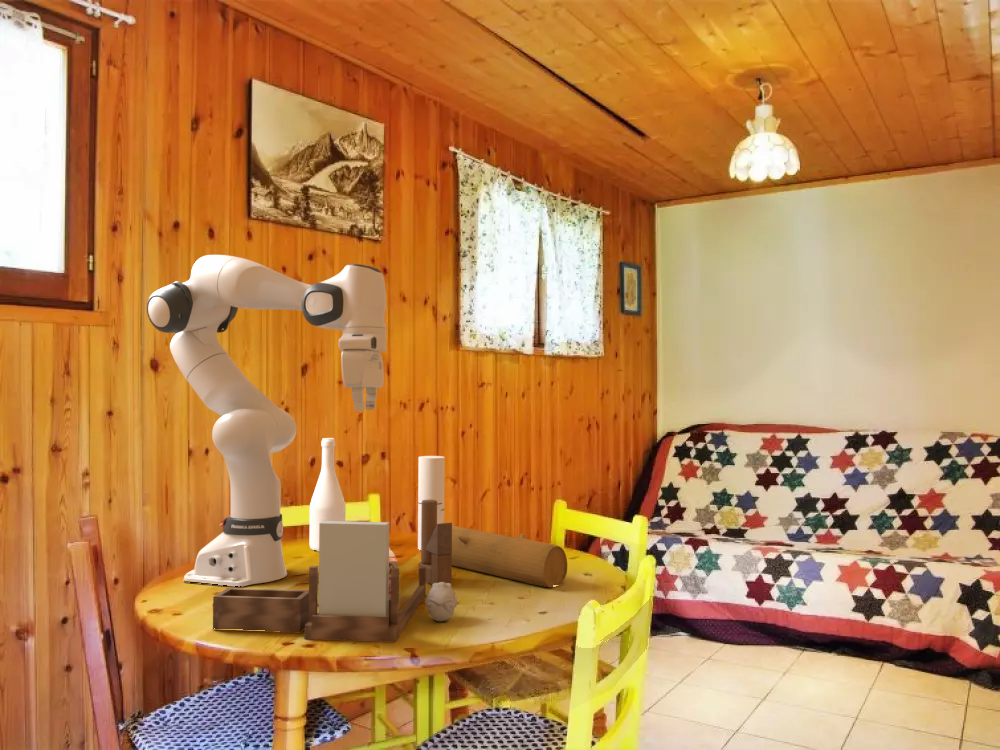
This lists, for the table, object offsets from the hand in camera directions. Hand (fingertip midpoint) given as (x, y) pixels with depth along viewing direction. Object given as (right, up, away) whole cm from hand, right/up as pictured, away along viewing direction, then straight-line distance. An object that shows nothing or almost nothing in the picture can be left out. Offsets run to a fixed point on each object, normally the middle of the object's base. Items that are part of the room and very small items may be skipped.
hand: (365, 410), depth 157 cm
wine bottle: (-19, -40, +51) cm, 68 cm away
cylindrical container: (+9, -40, +52) cm, 66 cm away
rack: (+3, -39, -10) cm, 40 cm away
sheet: (+2, -39, -21) cm, 44 cm away
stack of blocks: (+3, -40, -6) cm, 40 cm away
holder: (-16, -39, -16) cm, 45 cm away
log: (+26, -40, +26) cm, 54 cm away
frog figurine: (+16, -40, -12) cm, 44 cm away
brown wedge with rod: (+13, -40, +17) cm, 45 cm away
